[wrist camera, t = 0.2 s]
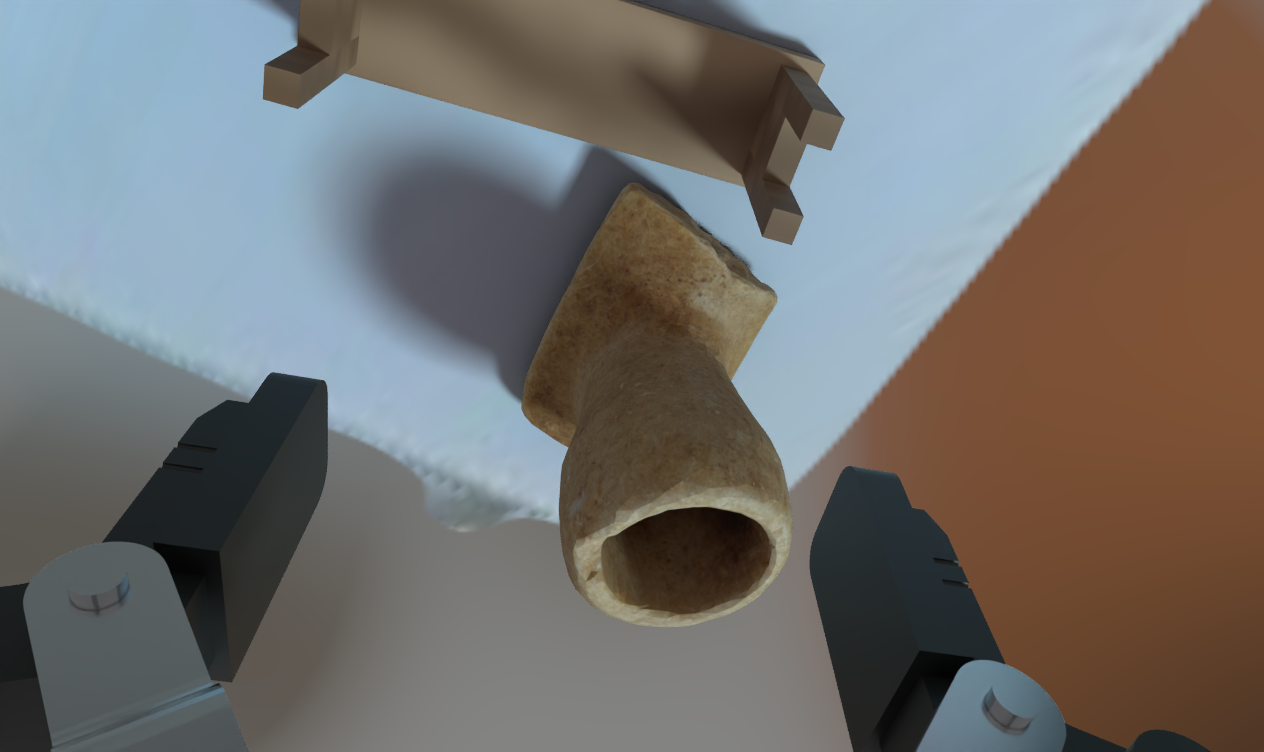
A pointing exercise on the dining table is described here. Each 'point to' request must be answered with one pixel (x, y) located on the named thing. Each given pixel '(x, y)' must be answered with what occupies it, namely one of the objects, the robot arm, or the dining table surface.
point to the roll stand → (586, 81)
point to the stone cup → (660, 422)
